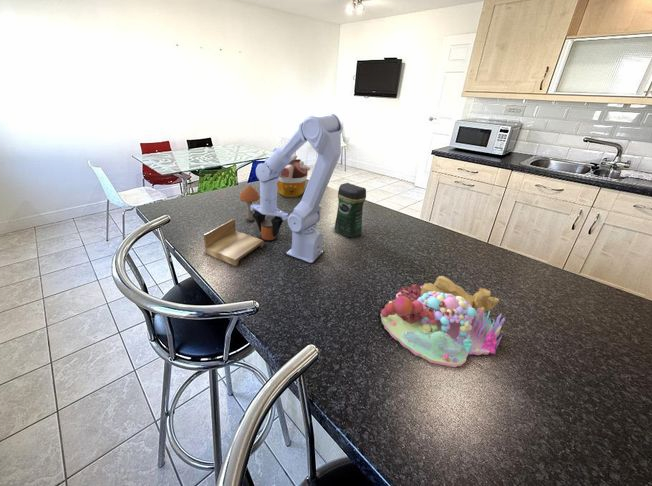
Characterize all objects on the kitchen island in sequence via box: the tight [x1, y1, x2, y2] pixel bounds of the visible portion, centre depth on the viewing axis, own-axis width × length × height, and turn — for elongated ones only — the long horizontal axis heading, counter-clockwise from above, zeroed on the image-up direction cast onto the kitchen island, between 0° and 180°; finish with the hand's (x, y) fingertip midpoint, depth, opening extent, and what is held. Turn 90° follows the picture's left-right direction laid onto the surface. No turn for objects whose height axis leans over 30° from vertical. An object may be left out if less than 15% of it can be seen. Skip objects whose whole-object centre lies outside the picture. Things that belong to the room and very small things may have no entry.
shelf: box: [203, 218, 264, 267], centre depth 96 cm, size 13×14×7 cm
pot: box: [260, 218, 277, 241], centre depth 104 cm, size 6×6×6 cm
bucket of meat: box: [277, 154, 312, 198], centre depth 142 cm, size 20×16×20 cm
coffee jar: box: [334, 182, 367, 238], centre depth 106 cm, size 10×8×19 cm
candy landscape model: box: [380, 275, 506, 368], centre depth 68 cm, size 25×24×9 cm
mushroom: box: [238, 184, 260, 222], centre depth 114 cm, size 8×8×15 cm
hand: (268, 232), depth 104 cm, fingers closed on pot, 5 cm apart
